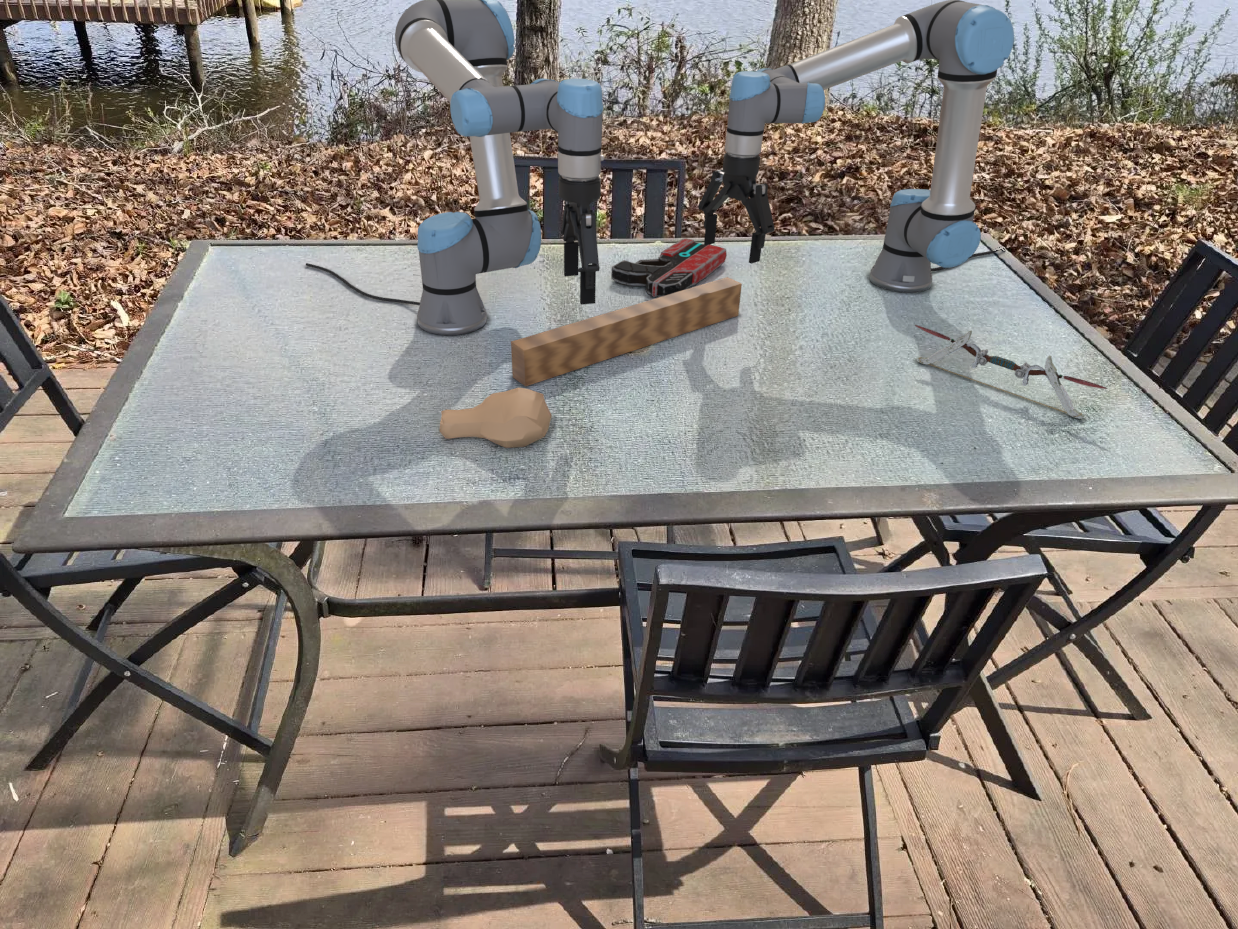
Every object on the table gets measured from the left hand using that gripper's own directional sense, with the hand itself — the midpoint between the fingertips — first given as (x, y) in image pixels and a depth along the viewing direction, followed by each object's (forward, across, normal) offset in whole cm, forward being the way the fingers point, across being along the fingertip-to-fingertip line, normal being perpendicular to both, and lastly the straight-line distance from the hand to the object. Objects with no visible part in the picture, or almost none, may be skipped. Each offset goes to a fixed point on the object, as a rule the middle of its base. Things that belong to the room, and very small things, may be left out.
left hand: (579, 288), depth 166 cm
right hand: (+3, +20, -39) cm, 44 cm away
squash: (+19, -20, +20) cm, 33 cm away
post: (+19, +12, -15) cm, 27 cm away
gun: (+19, +48, -35) cm, 63 cm away
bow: (+18, -24, -81) cm, 86 cm away
